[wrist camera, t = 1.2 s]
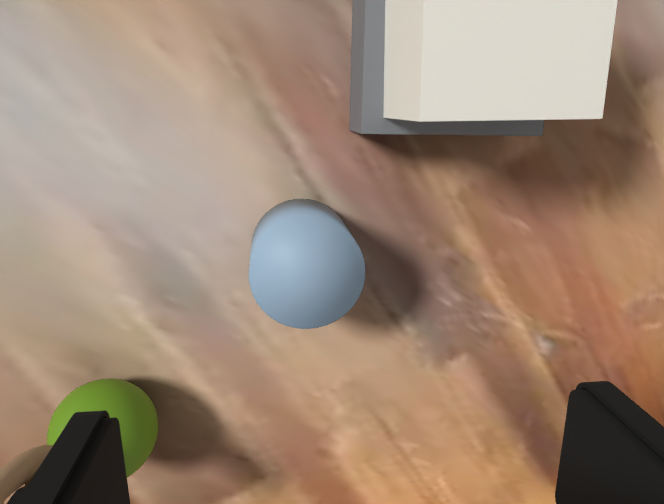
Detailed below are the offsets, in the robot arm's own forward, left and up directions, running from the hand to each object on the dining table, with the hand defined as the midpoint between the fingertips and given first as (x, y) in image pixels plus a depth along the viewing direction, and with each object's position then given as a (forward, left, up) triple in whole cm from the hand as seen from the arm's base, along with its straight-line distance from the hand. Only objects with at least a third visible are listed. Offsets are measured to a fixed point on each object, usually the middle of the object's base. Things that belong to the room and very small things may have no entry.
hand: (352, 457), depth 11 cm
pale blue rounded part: (-1, 0, -19) cm, 19 cm away
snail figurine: (-10, +11, -20) cm, 24 cm away
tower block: (+10, -7, -16) cm, 20 cm away
